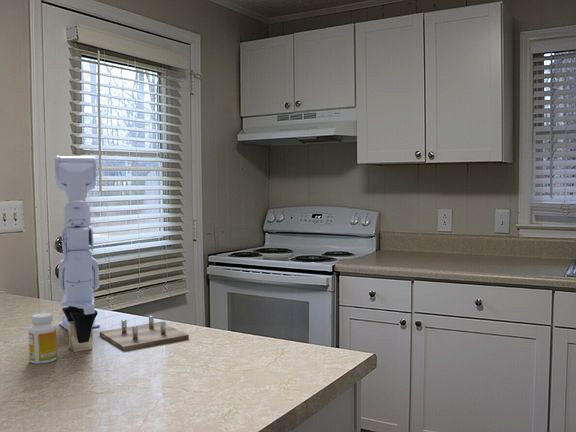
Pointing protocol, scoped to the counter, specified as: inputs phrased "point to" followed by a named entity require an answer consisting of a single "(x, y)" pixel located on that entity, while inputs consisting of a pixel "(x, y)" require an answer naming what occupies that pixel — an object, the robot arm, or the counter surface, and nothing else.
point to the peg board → (143, 335)
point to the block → (73, 339)
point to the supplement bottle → (42, 339)
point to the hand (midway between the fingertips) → (80, 339)
